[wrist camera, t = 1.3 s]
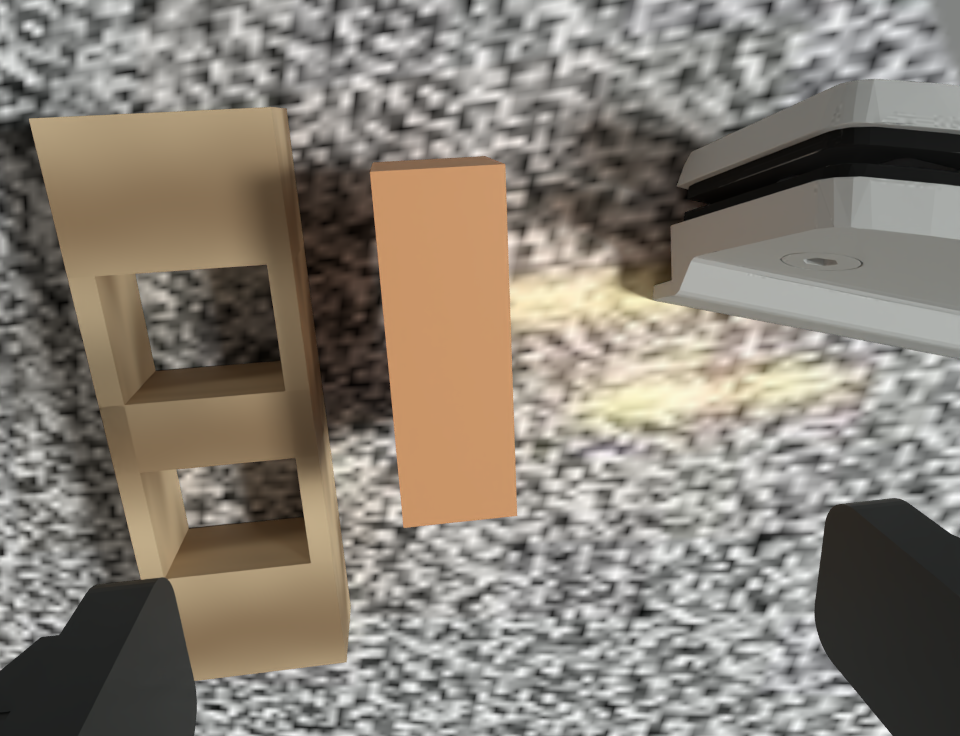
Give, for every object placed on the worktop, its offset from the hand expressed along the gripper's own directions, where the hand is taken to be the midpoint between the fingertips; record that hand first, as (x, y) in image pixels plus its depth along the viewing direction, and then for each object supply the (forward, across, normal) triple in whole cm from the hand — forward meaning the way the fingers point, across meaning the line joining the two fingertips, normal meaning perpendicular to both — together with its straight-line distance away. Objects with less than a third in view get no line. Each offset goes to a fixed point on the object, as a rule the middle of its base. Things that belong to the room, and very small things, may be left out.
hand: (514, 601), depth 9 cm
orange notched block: (+16, 0, 0) cm, 16 cm away
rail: (+16, +7, +3) cm, 18 cm away
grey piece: (+16, -16, -1) cm, 23 cm away
